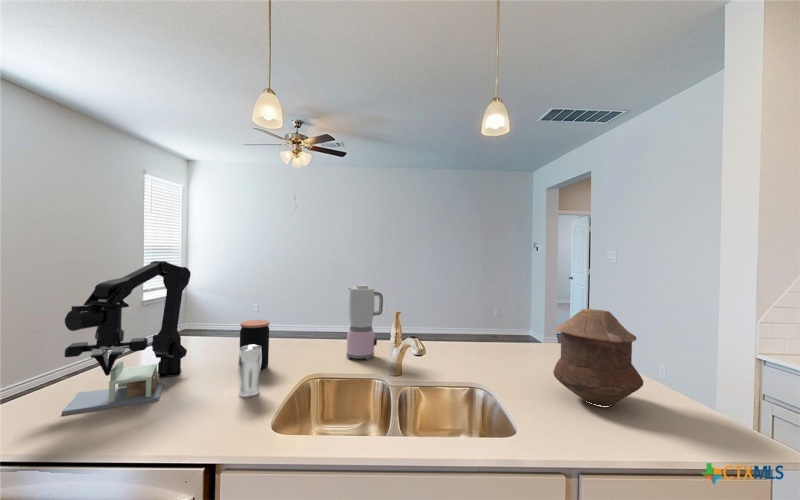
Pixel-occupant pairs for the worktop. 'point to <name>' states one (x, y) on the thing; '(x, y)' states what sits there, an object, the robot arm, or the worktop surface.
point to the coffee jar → (256, 337)
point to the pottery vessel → (597, 358)
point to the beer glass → (249, 369)
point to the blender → (362, 322)
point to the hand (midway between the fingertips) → (107, 375)
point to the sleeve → (141, 387)
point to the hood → (130, 377)
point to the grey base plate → (107, 400)
